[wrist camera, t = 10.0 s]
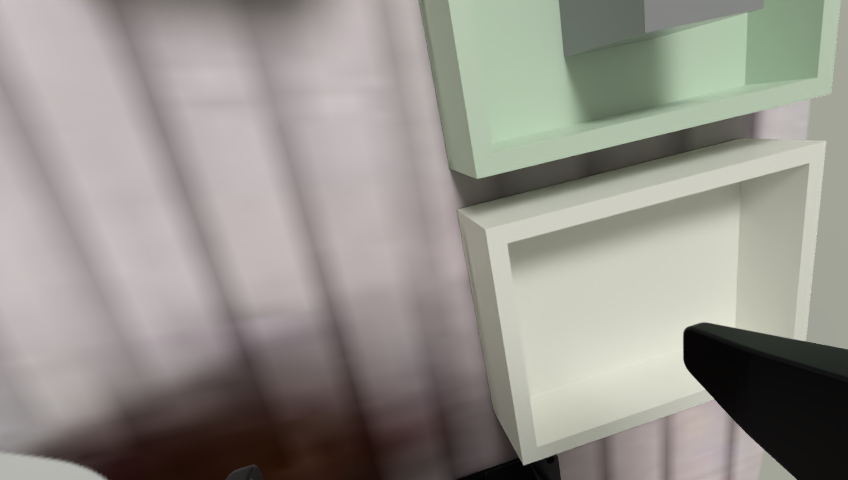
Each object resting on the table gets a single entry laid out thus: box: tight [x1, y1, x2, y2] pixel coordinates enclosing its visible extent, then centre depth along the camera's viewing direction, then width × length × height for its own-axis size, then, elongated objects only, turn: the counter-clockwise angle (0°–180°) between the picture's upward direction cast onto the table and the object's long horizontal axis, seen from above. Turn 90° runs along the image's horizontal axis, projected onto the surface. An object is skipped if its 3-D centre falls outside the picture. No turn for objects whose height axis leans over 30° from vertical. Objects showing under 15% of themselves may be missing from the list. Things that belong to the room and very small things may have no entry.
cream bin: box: [457, 138, 826, 466], centre depth 21 cm, size 12×16×4 cm
